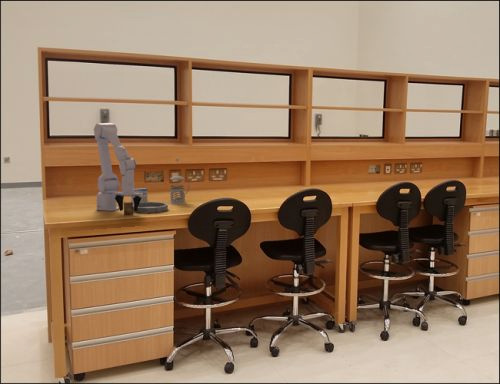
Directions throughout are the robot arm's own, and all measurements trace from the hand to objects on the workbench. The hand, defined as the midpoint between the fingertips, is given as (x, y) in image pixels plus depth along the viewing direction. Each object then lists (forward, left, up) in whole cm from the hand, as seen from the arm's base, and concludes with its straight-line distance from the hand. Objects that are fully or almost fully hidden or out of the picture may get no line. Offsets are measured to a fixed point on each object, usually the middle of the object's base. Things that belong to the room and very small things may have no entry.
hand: (128, 210), depth 241 cm
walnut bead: (0, 0, -2) cm, 2 cm away
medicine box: (-7, +28, -2) cm, 29 cm away
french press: (+12, +39, -2) cm, 41 cm away
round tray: (+5, +14, -2) cm, 15 cm away
